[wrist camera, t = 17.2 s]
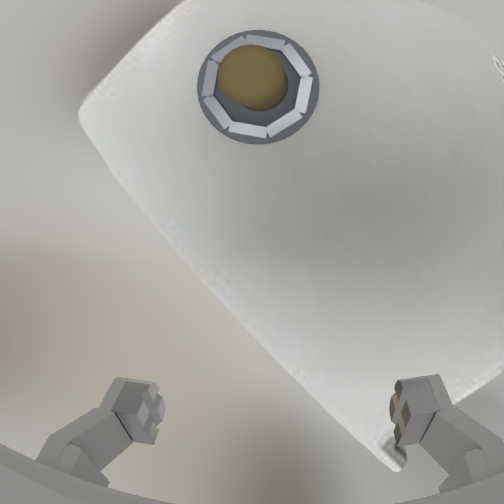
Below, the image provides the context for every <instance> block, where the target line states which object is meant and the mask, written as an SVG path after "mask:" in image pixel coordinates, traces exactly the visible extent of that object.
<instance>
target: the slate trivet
mask: <svg viewBox="0 0 504 504" xmlns="http://www.w3.org/2000/svg"><path fill="white" fill-rule="evenodd" d="M250 44H253V45H259V46H263V47H265V48H267V49H269V50H271V51H272V52H273V53H274V54H275V55H276V56H277V57H278V58H279V59H280V61H281V63H282V65H283V70H284V72H285V74H286V76H287V78H288V91H287V95H286V96H285V98H284V100H283V101H282V102H281V103H280V104H279V105H278V106H276V107H275V108H273V109H270V110H268V111H259V112H258V111H253V110H249V109H247V108H245V107H243V106H242V105H239V104H237V103H235V102H233V101H231V100H230V99H229V98H228V97H227V96H226V95H225V94H224V93H223V92H222V90H221V88H220V86H219V84H218V76H217V74H218V69H219V65H220V63H221V61H222V60H223V58H224V56H225V55H227V54H228V53H229V52H230V51H231V50H233V49H235V48H237V47H239V46H243V45H250ZM197 92H198V98H199V102H200V105H201V108H202V110H203V112H204V114H205V116H206V117H207V119H208V120H209V121H210V123H211V124H212V125H213V126H214V127H215V128H216V129H217V130H218V131H220V132H221V133H223V134H224V135H226V136H228V137H230V138H232V139H234V140H237V141H240V142H244V143H249V144H267V143H272V142H276V141H279V140H282V139H285V138H286V137H288V136H290V135H292V134H293V133H295V132H296V131H298V130H299V129H300V128H301V127H302V126H303V125H304V124H305V123H306V122H307V120H308V119H309V118H310V116H311V114H312V113H313V111H314V108H315V106H316V103H317V99H318V93H319V81H318V75H317V71H316V68H315V66H314V64H313V62H312V60H311V58H310V57H309V55H308V54H307V53H306V52H305V50H304V49H303V48H302V47H301V46H299V45H298V44H297V43H296V42H294V41H293V40H291V39H290V38H288V37H286V36H284V35H281V34H278V33H275V32H271V31H264V30H252V31H245V32H241V33H238V34H235V35H233V36H230V37H228V38H227V39H225V40H223V41H222V42H221V43H219V44H218V45H217V46H216V47H215V48H214V49H213V50H212V51H211V52H210V53H209V54H208V56H207V57H206V59H205V61H204V62H203V64H202V67H201V69H200V72H199V76H198V83H197Z"/></svg>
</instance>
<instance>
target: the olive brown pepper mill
mask: <svg viewBox="0 0 504 504" xmlns="http://www.w3.org/2000/svg"><path fill="white" fill-rule="evenodd" d="M217 76H218V84H219V86H220V88H221V90H222V92H223V93H224V94H225V95H226V96H227V97H228V98H229V99H230V100H231V101H233V102H235V103H237V104H239V105H242V106H243V107H245V108H247V109H249V110H253V111H258V112H259V111H268V110H270V109H273V108H275V107H276V106H278V105H279V104H280V103H281V102H282V101H283V100H284V98H285V96H286V95H287V91H288V78H287V76H286V74H285V72H284V70H283V65H282V63H281V61H280V59H279V58H278V57H277V56H276V55H275V54H274V53H273V52H272V51H271V50H269V49H267V48H265V47H263V46H259V45H253V44H250V45H243V46H239V47H237V48H235V49H233V50H231V51H230V52H229V53H228V54H227V55H225V56H224V58H223V60H222V61H221V63H220V65H219V69H218V74H217Z"/></svg>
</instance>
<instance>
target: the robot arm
mask: <svg viewBox="0 0 504 504" xmlns="http://www.w3.org/2000/svg"><path fill="white" fill-rule="evenodd" d="M394 388H395V392H396V393H395V394H393V395H392V397H391V400H390V409H389V410H390V417H391V421H392V422H393V423H394V424H395V425H396V427H395V429H394V435H395V439H396V444H397V446H404V445H410V444H417V443H420V445H421V446H422V447H423V448H424V449H425V450H426V451H427V452H428V453H429V454H430V455H431V456H432V458H433V459H434V460H436V462H437V463H438V464H439V465H441V467H442V468H443V469H444V470H445V471H446V472H447V473H448V474H449V476H448V477H447V478H446V479H445V480H444V482H443V483H442V484H441V485H440V487H439V491H440V493H439V494H436V495H432V496H428V497H424V498H420V499H415V500H411V501H406V502H401V503H396V504H504V442H503V440H502V439H501V438H499V437H498V436H497V435H495V434H494V433H492V432H491V431H490V430H488V429H486V428H485V427H484V426H482V425H481V424H480V423H478V422H477V421H475V420H474V419H472V418H471V417H470V416H468V415H467V414H465V413H464V412H463V411H461V410H460V409H459V408H454V407H453V405H452V403H451V400H450V398H449V395H448V393H447V391H446V388H445V386H444V384H443V381H442V379H441V377H440V375H438V374H435V375H429V376H421V377H415V378H408V379H401V380H398V381H397V382H396V384H395V387H394ZM158 390H159V388H158V386H157V384H156V383H155V382H148V381H142V380H134V379H128V378H121V377H117V378H115V379H114V380H113V382H112V384H111V386H110V388H109V389H108V391H107V393H106V395H105V397H104V399H103V401H102V402H101V404H100V406H99V408H94V409H92V410H91V411H89V412H88V413H86V414H84V415H83V416H81V417H79V418H78V419H76V420H75V421H73V422H71V423H70V424H68V425H67V426H65V427H63V428H62V429H60V430H58V431H57V432H55V433H53V434H52V435H50V436H49V438H48V439H47V441H46V443H45V444H44V446H43V448H42V450H41V452H40V453H39V455H38V457H37V459H36V460H33V459H31V458H29V457H27V456H25V455H23V454H21V453H19V452H17V451H15V450H12V449H11V448H9V447H7V446H5V445H3V444H1V443H0V504H174V503H168V502H163V501H158V500H154V499H149V498H144V497H141V496H137V495H132V494H129V493H125V492H121V491H118V490H114V489H111V488H107V487H108V484H109V481H108V479H107V478H106V477H105V476H104V475H103V474H102V473H101V470H102V469H103V468H104V467H105V466H107V465H108V464H109V463H110V462H111V461H112V460H114V459H115V458H116V457H117V456H118V455H119V454H121V453H122V452H123V451H124V450H125V449H126V448H127V447H128V446H130V445H131V444H132V443H133V442H139V443H145V444H151V445H154V443H155V440H156V437H157V434H158V432H159V430H158V428H157V425H158V424H159V423H160V422H162V420H163V417H164V413H165V404H164V400H163V398H162V397H161V396H160V395H159V394H158ZM132 441H133V442H132Z"/></svg>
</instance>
